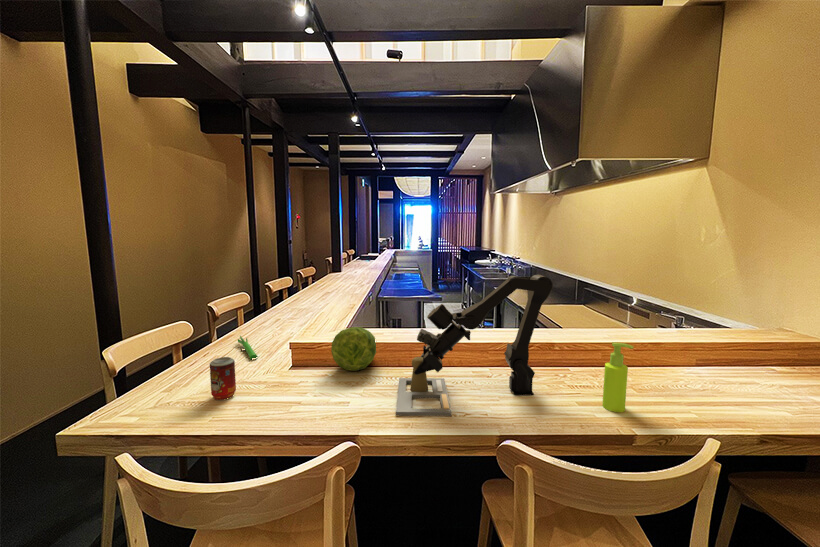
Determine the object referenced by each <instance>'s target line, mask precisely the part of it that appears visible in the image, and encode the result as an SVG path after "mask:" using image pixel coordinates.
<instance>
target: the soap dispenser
mask: <svg viewBox="0 0 820 547" xmlns="http://www.w3.org/2000/svg"><path fill="white" fill-rule="evenodd" d="M611 346H612V347H613V352H610V355H609V358H610V359H609V362H605V363H604V371H603V372H604V373H603V374H604V375H603V391H602V405H601V406H602V407H603V408H604V409H605V410H607V411H610V412H614V413H623V412H625V411H626V401H627V400H626V397H627V386H628V384H627V383H628V373H629V372H628V370H629V367H628V366H627V365H626V364H624V354H622V353H621V350H622V348H626V349H630V350H631V349H634V347H635V346H634V345H632V344H629V343H623V342H612V343H611Z"/></svg>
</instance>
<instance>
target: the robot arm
mask: <svg viewBox="0 0 820 547" xmlns="http://www.w3.org/2000/svg"><path fill="white" fill-rule="evenodd" d="M553 289H554V284H553V281H552V280H551V279H550V278H549V277H547V276H545V275H541V274H533V275H532V276H515V275H510V276H508V277H507V279H506V280H504V281H503V282H502V283H501V284H499V286H497V287H496V288H495V289H494V290H492V291H491V292H490V293H489V294H488V295H486V296H485V297H484V298H483V299H482V300H480V301H478V302H477V303H475V304H471V305H470V306H468V307H467V308H465V309H463V310H462V311H459V312H451V311H449V309H448V308H447V307H446V306H445V304H443V303H441V304H440V305H438V306H436V307H435V308H433V309H432V310H431V311H430V312H429V313H428V315H427V317H426V318H427V319H428V320H429V321H430V322H431V323H432V324H433V325H434V326H435V327H436V328H437V329H438V330H442V333H437V334H434V333H432V332H430V331H428V330H425V329H424V328H420V330H419V332H418V335H417V336H416V340H417V341H418V342H420V343H424V345H423V348H422V349H423V350H422V352H423V353H422V354H421V355H420V357H423V361H422V362H421V363H420V365H419V366H418V367H417V369H416V370H415V371H414V373H415V374H416V375H417V374H420V373H424V372H426V373H427V372H430V371H435V372H436V373H439V372H440V371H441V370H443V361H442V360H443V359H444V358H445V355H446V354H447V353H448V352H449V351H450V352H452V351H453V350H454V349H453V347H455V346H456V345H457V344H458V343H459V342H460V341H461V340H462V339H463V338H465V339H467V340H468V341H471V333H472V332H471V331H472V330H475V329H477V328H478V327H479V326H480V325H481V323H482V322H483V321H484V320H485V318H486V317H487V315H488V313H489V312H491V311H492V310H493V309H495V307H497V306H498V305H499V304H500V303H502V302H503V301H504V300H506V299H507V298H508V297H509V296H511V294H513V293H514V292H515V291H516V290H523V291H526V294H527V301H526V305H525V307H524V312H523V315H522V318H521V321H520V324H519V327H518V330H517V333H516V336H515V340H514V341H513V342H512V343H511V344H510V343H509V342H507V344H506V350H505V351H504V353H503V355H504V356H505V357H504V359H505V361H506V363H507V365H508V366H509V367H510V369H511V370H512V371H510V375H509V379H508V381H509V382H508V388H509V390H510V391H511V392H512V394H513V395H514V396H534V395H535V394H534V392H533V379H534V376H535V375H536V372H535V371H534V370H533V369H532V367H531V366H530V365H529V358H530V354H529V353H530V352H529V347H530V346H529V345H530V342H531V339H532V336H533V333H534V329H535V327H536V324H537V321H538V319H539V314H540V311H541V308H542V306H543V304H544V303H545V302H546V301H547V299H548V298H549V296H550V295H551V292H552V291H553ZM425 345H426V346H425Z"/></svg>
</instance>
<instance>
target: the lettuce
mask: <svg viewBox="0 0 820 547" xmlns="http://www.w3.org/2000/svg"><path fill="white" fill-rule="evenodd" d="M375 339H376V337H375V336H374V334H373V333H372V332H371V331H370V330H368V329H366V328H363V327H362V326H353V327H348V328H345V329H342V330H340V331H339V332H338V333H337V334H336V335H335V337H334V338H333V340H332V342H331V350H330V351H331V352H330V353H331V356H332V358H333V361H334V362H335V364H337V365H338V367H340V368H341V369H343V370H346V371H353V372H354V371H355V372H358V371H360V370H363V369H366V368H367V367H369V365H370V364H371V363H372V362H373V360H374V359H375V355H376V353H377V351H376V343H375Z"/></svg>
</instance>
